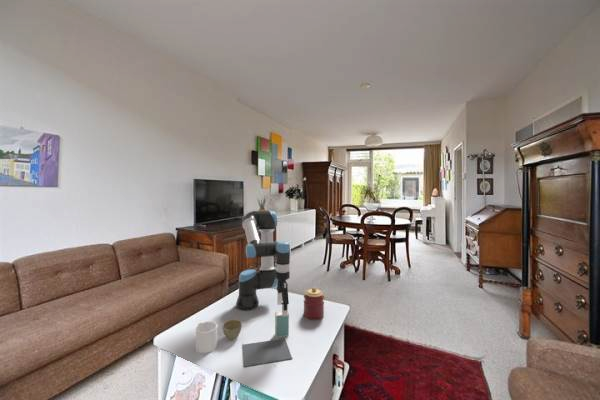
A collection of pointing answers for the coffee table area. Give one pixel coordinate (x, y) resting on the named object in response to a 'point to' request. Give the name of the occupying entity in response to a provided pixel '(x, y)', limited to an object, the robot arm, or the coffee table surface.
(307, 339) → the coffee table surface
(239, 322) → the flower pot
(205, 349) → the mug
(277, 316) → the slab
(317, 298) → the canister
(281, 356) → the mat
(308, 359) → the coffee table surface
